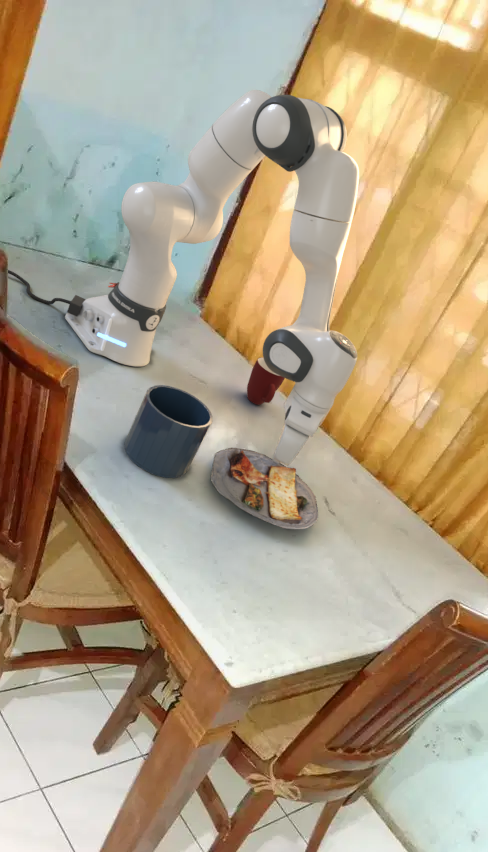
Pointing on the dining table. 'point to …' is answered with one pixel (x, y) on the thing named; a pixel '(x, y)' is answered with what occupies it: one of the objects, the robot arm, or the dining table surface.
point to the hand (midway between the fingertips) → (276, 459)
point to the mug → (262, 383)
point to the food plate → (264, 488)
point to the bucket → (167, 431)
